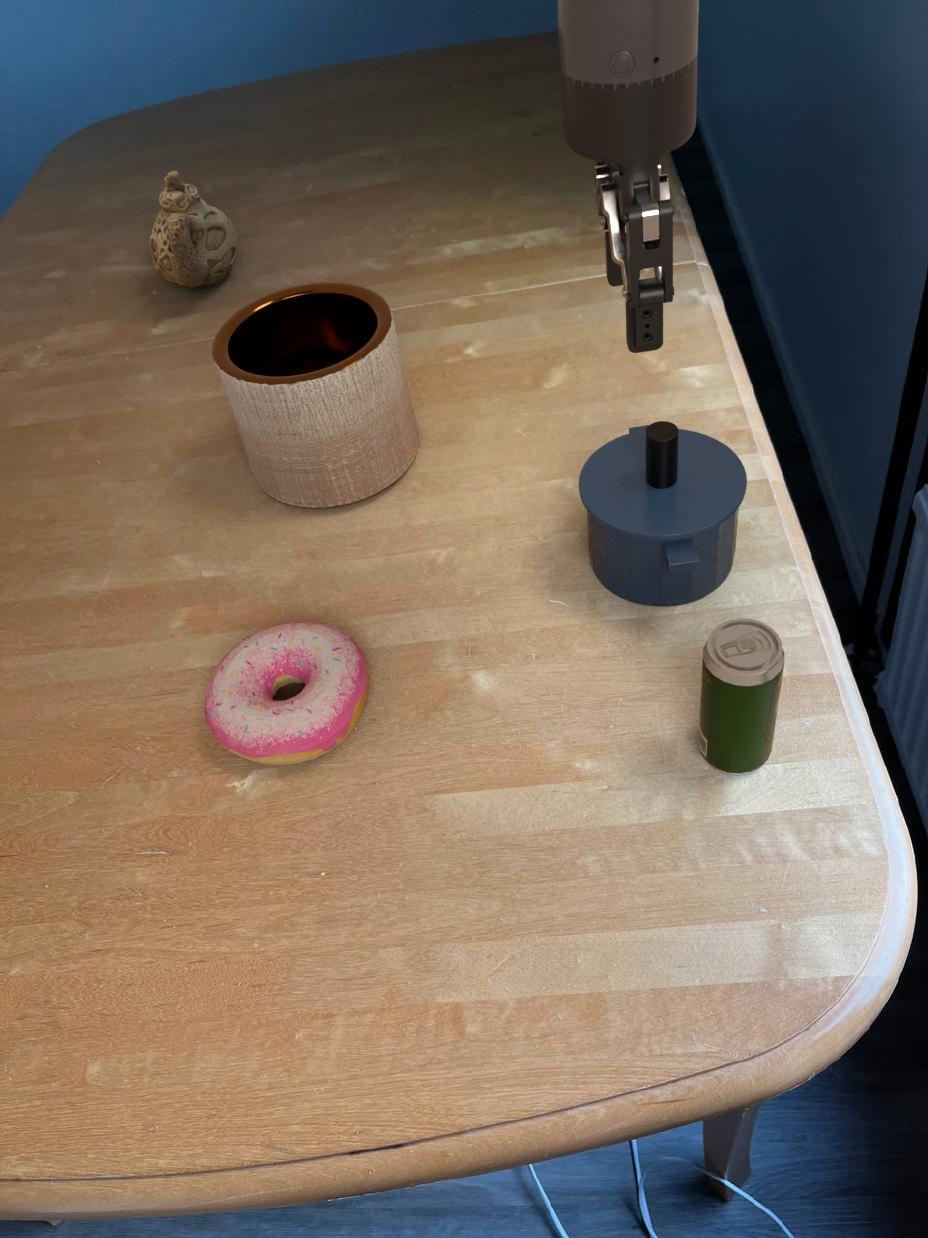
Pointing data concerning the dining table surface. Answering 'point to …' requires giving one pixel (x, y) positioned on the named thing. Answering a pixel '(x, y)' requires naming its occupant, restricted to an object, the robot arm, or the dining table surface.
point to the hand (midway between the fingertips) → (633, 313)
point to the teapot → (191, 237)
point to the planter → (318, 393)
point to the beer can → (739, 695)
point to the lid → (662, 483)
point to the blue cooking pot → (662, 562)
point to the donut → (297, 723)
